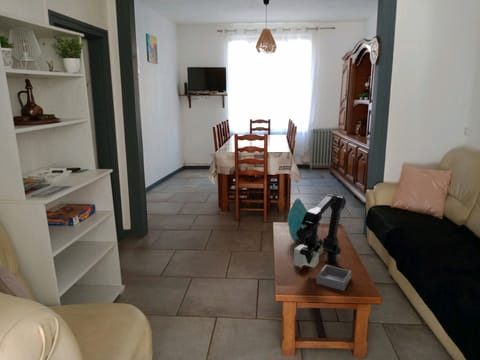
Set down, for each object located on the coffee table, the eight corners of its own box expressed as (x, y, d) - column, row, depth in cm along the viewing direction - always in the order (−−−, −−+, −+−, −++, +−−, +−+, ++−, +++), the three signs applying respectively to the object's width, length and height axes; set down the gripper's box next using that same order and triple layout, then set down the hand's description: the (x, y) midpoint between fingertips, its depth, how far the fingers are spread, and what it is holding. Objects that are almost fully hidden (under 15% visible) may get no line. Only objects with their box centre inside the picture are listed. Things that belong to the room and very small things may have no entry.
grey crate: (325, 271, 197) (325, 264, 196) (350, 278, 190) (351, 270, 189) (316, 283, 186) (316, 275, 185) (343, 290, 179) (343, 282, 178)
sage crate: (307, 260, 197) (307, 250, 196) (318, 262, 194) (319, 252, 193) (303, 264, 192) (303, 254, 191) (314, 267, 189) (314, 257, 187)
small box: (300, 260, 212) (301, 243, 209) (309, 262, 208) (309, 246, 206) (293, 265, 206) (293, 248, 203) (302, 268, 202) (302, 251, 200)
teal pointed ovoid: (309, 245, 231) (311, 201, 224) (288, 245, 231) (289, 201, 224) (306, 237, 243) (308, 195, 235) (286, 238, 243) (287, 195, 236)
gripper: (304, 225, 201) (303, 251, 205) (290, 237, 185) (290, 264, 189) (323, 229, 195) (322, 255, 199) (311, 241, 180) (310, 269, 183)
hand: (310, 261), depth 193 cm, fingers closed on sage crate, 6 cm apart
